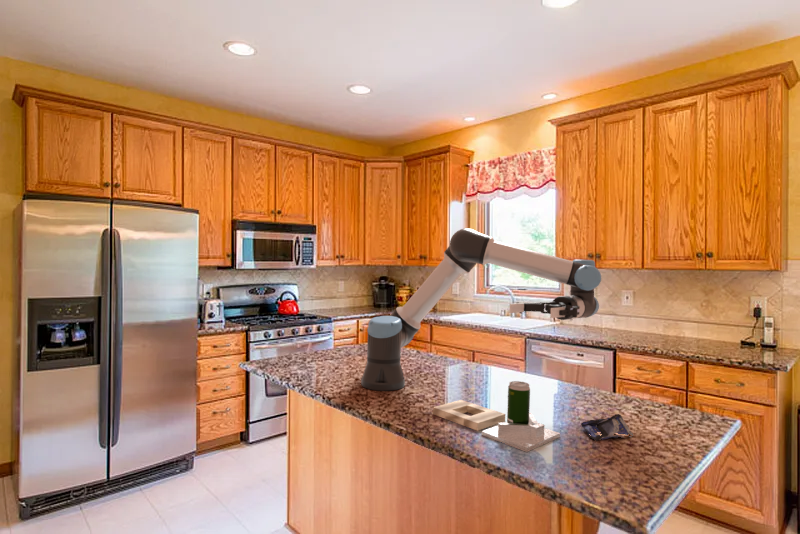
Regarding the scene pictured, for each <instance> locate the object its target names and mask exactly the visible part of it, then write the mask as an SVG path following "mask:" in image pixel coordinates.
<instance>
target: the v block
mask: <svg viewBox="0 0 800 534" xmlns="http://www.w3.org/2000/svg"><path fill="white" fill-rule="evenodd" d="M545 426H546V425H545V424H542V423H540V422H538V421H537V419H536V418H535V416H534V415H533V414H532V412H529V424H516V423H507V421H505V422H501V423H498V424H497V425H494V426H493V427H492V426H491V427H488V428H487V429H486V428H485V429H484V430H481V436H484V437H485V438H489V439H491V440H494V441H496V442H499V443H501V442H502V443H501V444H504V443H505V444H504V445H506V446H510V447H512V448H515V449H518V450H520V451H523V452H525V453H528V452H530V451H533V450H534V449H537V448H539V447H541V446H543V444H544V445H545V444H548V443H550V442H552V441H555V440H557V439H559V438H561V433H560V432H558V431H555V430H551V429H548V428H545Z"/></svg>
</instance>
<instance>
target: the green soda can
mask: <svg viewBox="0 0 800 534" xmlns="http://www.w3.org/2000/svg"><path fill="white" fill-rule="evenodd" d="M507 388H508V389H507V409H506V411H507V412H506V413H507V416H506V417H507V418H506V422H507V423H516V424H529V413H530V408H531V407H530V406H531V405H530V404H531V403H530V402H531V388H530V384H529V383H528V382H525V381H519V380H515V381H514V380H513V381H509V384H508V387H507Z"/></svg>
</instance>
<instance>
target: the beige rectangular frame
mask: <svg viewBox="0 0 800 534" xmlns="http://www.w3.org/2000/svg"><path fill="white" fill-rule="evenodd" d="M466 413H468V414H471V415H468V414H466ZM432 415H433V416H436V417H440V418H442V419H445V420H447V421H450V422H453V423H456V424H458V425H460V426H464V427H466V428H469V429H472V430H474V431H477V432H478V431H482V430H483V429H484V430H485V429H486V428H487V429H488V428H491V427H492V426H493V427H494V426H497V425H498V423H505V422H506V413H503V412H501V411H497V410H494V409H491V408H488V407H486V406H481V405H479V404H475V403H472V402H469V401H466V400H463V399H459V400H455V401H452V402H451V401H450V402H448V403H444V404H440V405H436V406H433V409H432Z"/></svg>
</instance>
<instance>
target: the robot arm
mask: <svg viewBox="0 0 800 534" xmlns="http://www.w3.org/2000/svg"><path fill="white" fill-rule="evenodd" d="M477 264H479V265H482V266H485V265H487V264H491V265H494V266H498V267H502V268H505V269H509V270H512V271H516V272H521V273H523V274H527V275H531V276H535V277H538V278H543V279H545V280H549V281H554V282H557V283H560V284H562V285H563V284H564V285H567V286H570V291H569V295H560V296H557V297H555V298H554V299H553V300H552V301H549V302H545V301H541V302H518V301H516V303H509V313H510V314H515V313H519V314H523V313H524V312H536V313H539V312H540V314H549V315H550V318H551V319H558V320H560V321H566V320H569V321H574V320H573V319H581V318H582V319H583V318H585V319H587V318H589V317H593V316H594V315H596V314H597V313H598V311H599V310H600V303H599V301H598V299H597V298H596V297H595V289H596V288H598V287H599V286H600V284H601V282H602V275H601V272H600V270H599V268H598V267H596V261H595V260H593V259H573V260H571V259H570V260H569V259H565V258H562V257H558V256H555V255H550V254H546V253H543V252H539V251H535V250H531V249H528V248H525V247H520V246H515V245H512V244H509V243H504V242H501V241H497V240H495V239H494V237H493V236H490V235H487V234H483V233H481V232H480V231H478V230H475V229H473V228H468V227H467V228H466V227H465V228H461V229H459V230H457V231H455V232H454V234H452V236H451V238H450V241H449V246H448V247H447V248H446V249H445V251H444V252H443V259H442V260H441V261H440V262H439V264H438V265H437V266H436V267H435V268H434V270H433V271H432V272H431V273H430V274H429V276H428V277H427V278H426V279H425V281H423V283H422V284H421V285H420V286H419V288H418V289H417V290H415V292H414V293H413V294H412V295H411V297H410V298H409V299H408V301H407V302H406V303H405V304H404V305H403V306H397V307H396V308H395V309H394V310H393V312H392V313H391V314H390V315H380V316H374V317H371V319H369V321H368V325H367V345H366V346H367V350H366V351H367V354H366V355H367V356H366V365H365V367H364V371H363V374H362V376H361V380H360V383H361V384H360V385H361V387H363V388H365V389H368V390H372V391H379V392H380V391H396V390H401V389H403V388H405V386H406V379H405V377H404V372H403V369H402V364H401V356H402V355H401V354H402V348H404V347H406V346H408V345H409V344H410V343H412V340H413V339H414V337H415V335H416V334H417V333H418V332H419V331H420V329H421V326H422V325H421V322H422V321H423V319H424V318H425V317H426V316H427V315H428V314H429V312H430V311H431V310H433V308H435V306H436V305H437V303H438V302H439V301H440V300H441V299H442V298H443V296H444V295H445V294H447V292H448V291H449V290H450V288H451V287H452V286H453V285H454V284H455V283H456V282H457V281H458V279H459V278H460V277H461V275H463V274H469V273H470V272H471V271H472V269H473V268H474V267H475V266H476V265H477Z"/></svg>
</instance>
